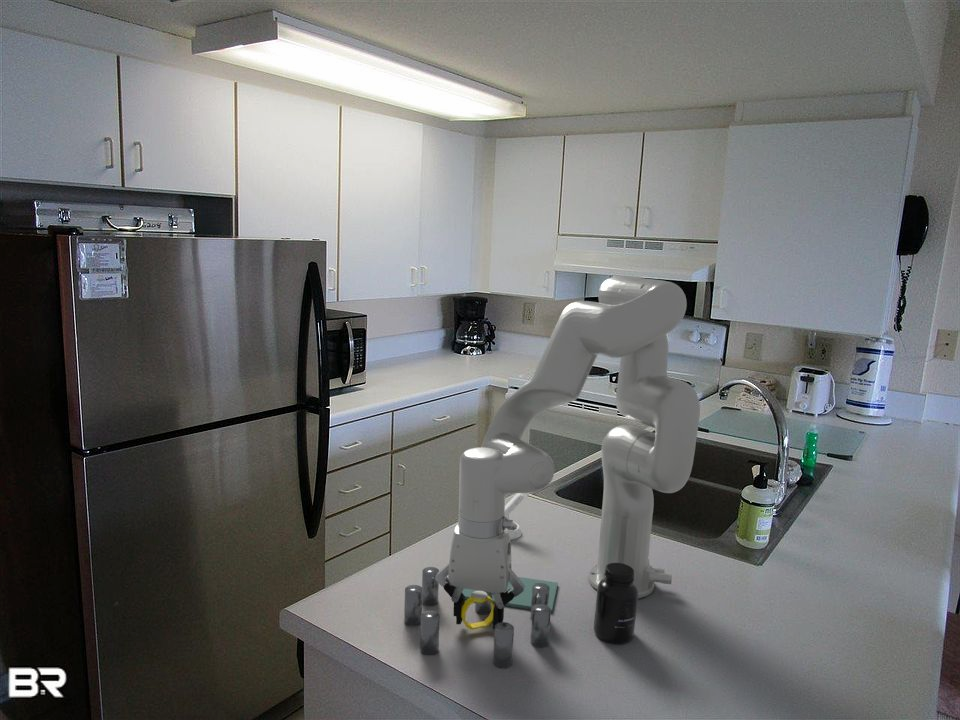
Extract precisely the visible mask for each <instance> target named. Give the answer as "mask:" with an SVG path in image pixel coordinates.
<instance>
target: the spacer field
mask: <svg viewBox="0 0 960 720" xmlns="http://www.w3.org/2000/svg"><path fill="white" fill-rule="evenodd" d="M439 571H440V570H439V568H437V567H434V566H427V567H424V568H423V569H422V574H421V575H422V577H421V580H422V581H421V585H418V584H410V585H407V586H406V587H405V588H404V610H403V611H404V614H403V615H404V618H403V619H404V621H403V623H404V624H405V625H407V626H409V627H417V626H419V625H420V638H419V639H420V641H419V651H420V653H421V654H422V655H425V656H434V655H436V654H437V653H438V652H439V650H440V649H439V647H440V624H441V623H440V622H441V621H440V619H441V614H440V613H439V612H438V611H436V610H426V611H423V605H424V606H427V607H429V606H430V607H432V606H436V605H437V604H438V603H439V589H440V587H439V586H440V584H439V583H438V582H437V581H436V580H435V577H436V575H437V573H438V572H439ZM549 589H550V587H549V586H548V585H547V584H544V583H535V584H534V585H533V586H532V601H531V609H530V617H529V618H530V620H531V627H530V628H531V629H530V630H531V631H530V644H531V645H532V646H534V647H536V648H540V649H541V648H545V647H548V645H549V642H550V641H549V640H550V631H551V629H550V627H551V615H552V613H551V609H550V607H549V606H548V604H549ZM476 591H478V590H476ZM484 592H485V591H484ZM486 593H487V595H488V596H489V597H490V598H491V599H492V598H493V594H492V592H486ZM474 603H475V604H474V605H475V606H474V611H475V612H476V613H477V614H479V615H490V612H491V610H492V606H491V602H490V601H488V600H487V601H485V602H481V603H479V602H474ZM514 631H515V627H514V625H512V623H509V622H505V621H503V622H501V623H498V624H496V625H495V630H494V633H493V634H494V635H493V637H494V638H493V655H492V656H493V657H492V664H493V665H494V667H497V668H500V669H507V668H510V667H511V666H512V665H513V650H514V635H515V634H514V633H515V632H514Z"/></svg>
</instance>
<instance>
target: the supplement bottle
mask: <svg viewBox="0 0 960 720" xmlns="http://www.w3.org/2000/svg"><path fill="white" fill-rule="evenodd" d="M633 582H634V569H633V568H631V567H630V566H628V565H626V564H623V563H609V564H608V565H606V568H605V573H604V579H602V580H601V581H600V582H599V584H598V588H597V589H596V598H595V606H594V607H595V609H594V620H593V631H594V633H595V635H596V636H597V637H598V638H599V639H600V640H602V641H604V642H606V643H608V644H614V645H621V644H622V645H624V644H627V643H629V642H630V641H631V640H632V639H633V637H634V634H635V626H636V618H637V608H638V599H639V598H638V589H637V587H636V585H635V584H634V583H633Z"/></svg>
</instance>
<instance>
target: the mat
mask: <svg viewBox="0 0 960 720" xmlns="http://www.w3.org/2000/svg"><path fill="white" fill-rule="evenodd" d="M517 577H518V578H519V579H520V580H521V581H522V583H523V584H524V585H525V588H524V591H523V592H522V593H521V594H519V595H518V596H516V597H514V598H513V600H511V601H510V602H509V603H507V604H506V605H505V606H504V607H512V608H518V609H519V608H520V609H524V610H525V609H526V610H531V601H532V586H533V585H534V584H535V583H544V584H547V585H548V586H549V587H550V589H549V604H548V606H549V607H550V609H551V614H552V613H553V610H554V609H553V607H554V603H555V600H556V594H557V589H558V584H559V583H558V582H557V581H556V582H555V581H548V580H544V579H543V580H542V579H536V578H530V577H529V578H528V577H523V576H517ZM511 588H513V586H512V585H511V584H510V582H509V581H508V586H507V590H506V591H508V590H509V589H511ZM474 591H476V590H471V589H463V591H462V593H463V594H464V596H465V601H466V600H467V599H468V598H470V597H471V594H472V593H473V592H474ZM506 591H505V592H506ZM492 600H493V602H494V603H496V602H495V599H494V597H493V598H492Z"/></svg>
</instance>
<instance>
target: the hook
mask: <svg viewBox="0 0 960 720" xmlns="http://www.w3.org/2000/svg"><path fill="white" fill-rule="evenodd" d="M524 496H525V495H524V493H515V495H514V496H513V497H511V499H510V500H509V501H508V502H507V503H506V504H505V512H504V513H505V516H506V518H507V519H509V520H511V519H510V517H509V516H510V514H511V513H512V512H513V511H514V510H515V508H517V506H518V505H519V504H521V502H522V501H523V500H524ZM512 528H514V529H513V530H508V531H509V536H510V541H511V540H516V539H518V538H520V537H522V529H521V527H520V525H519V523H517V522H515V521H513V527H512Z"/></svg>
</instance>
